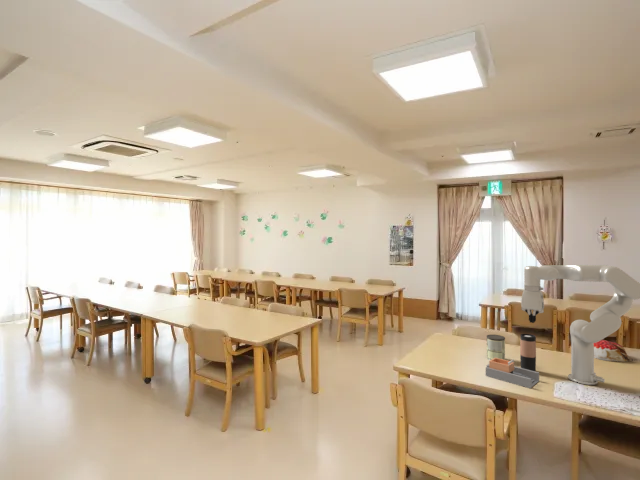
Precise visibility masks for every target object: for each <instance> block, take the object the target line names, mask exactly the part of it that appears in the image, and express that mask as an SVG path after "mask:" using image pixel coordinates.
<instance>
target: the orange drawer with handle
mask: <svg viewBox="0 0 640 480" xmlns="http://www.w3.org/2000/svg"><path fill="white" fill-rule="evenodd" d="M488 364H489V368H492V369H496V370H500V371H504V372H507V373H511V374H512V373H513V370H514V366H515V360H514V359H511V360H506V359H505V360H503V359H499V358H494V359H492V360H489V362H488Z"/></svg>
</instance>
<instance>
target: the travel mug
mask: <svg viewBox="0 0 640 480" xmlns="http://www.w3.org/2000/svg"><path fill="white" fill-rule="evenodd" d="M519 346H520V353H519V354H520V356H519V357H520V368H523V369H527V370H531V371H535V372H537V371H536V370H537V369H536V367H537V364H536V363H537V337H536V335H534V334H531V333H521V334H520V345H519Z"/></svg>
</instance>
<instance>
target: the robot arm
mask: <svg viewBox="0 0 640 480" xmlns="http://www.w3.org/2000/svg"><path fill="white" fill-rule="evenodd" d="M523 272H524V274H523V275H524V278H523V279H524V283H523V284H524V286H523V287H524V288H523V289H524V290H523V291H522V295H521V303H520V306H521V309H520V310H521V311H523V312H525V313H526V314H527V315H528V321H529V323H531V324H534V323H536V322H537V315H538V314H543V313H544V309H545V302H544V294H543V291H544V287H543V286H541V280H542V281H550V282H551V281H555V280H569V281H573V282H593V283H594V282H595V283H596V282H599V283H600V282H603V283H608V284H610V285H611V286H612V287H613V295H612V297H611V299H610V300H609V301H607V302H606V303H604V304H603V305H601V306H599V307H598V308H596V309H595V310H593V311H592V312H591V313H590V315H589V320H590V322H589V321H587V320H584V319H576V320H574V321H572V322H571V324H570V326H569V333H570V342H571V346H570V347H571V350H570V351H571V352H570V356H571V359H570V360H571V365H570V367H571V369H570V370H571V371H570V372H571V373H569V374H567V378H568V379H569V380H570V381H572V382H575V383H577V382H578V383H577V384H581V385H589V386H594V385H598V382H600V383H605V378H603V377H602V376H597V375H596V372H595V358H594V344H593V343H596V342H599V341H600V340H605V338H607V337H609V336H611V335H612V334H614V333H615V332H616V331H618V330H619V329H620V328H621V325H622V324H623V323H622V319H621V317H622V316H623V315H626V314H627V313H629V311H630V310H631V308H632V306H633V302H634V301H635V300H640V282H639V281H638V280H636V279H634V278H633V277H632V276H630V275H629V274H628V273H626V271H624V270H622V269H621V268H619V267H618V266H613V265H608V264H607V265H605V264H603V265H602V264H598V265H597V264H592V265H591V264H590V265H588V264H585V265H583V264H574V265H573V264H572V265H566V264H565V265H563V264H562V265H559V264H558V265H554V264H552V265H551V264H549V265H545V264H544V265H541V266H537V265H535V266H533V265H528V266H524V270H523Z"/></svg>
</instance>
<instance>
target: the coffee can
mask: <svg viewBox="0 0 640 480" xmlns="http://www.w3.org/2000/svg"><path fill="white" fill-rule="evenodd" d="M494 358H499V359H503V360H506V337H505V336H503V335H500V334H487V335H486V360H489V361H490V360H492V359H494Z"/></svg>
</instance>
